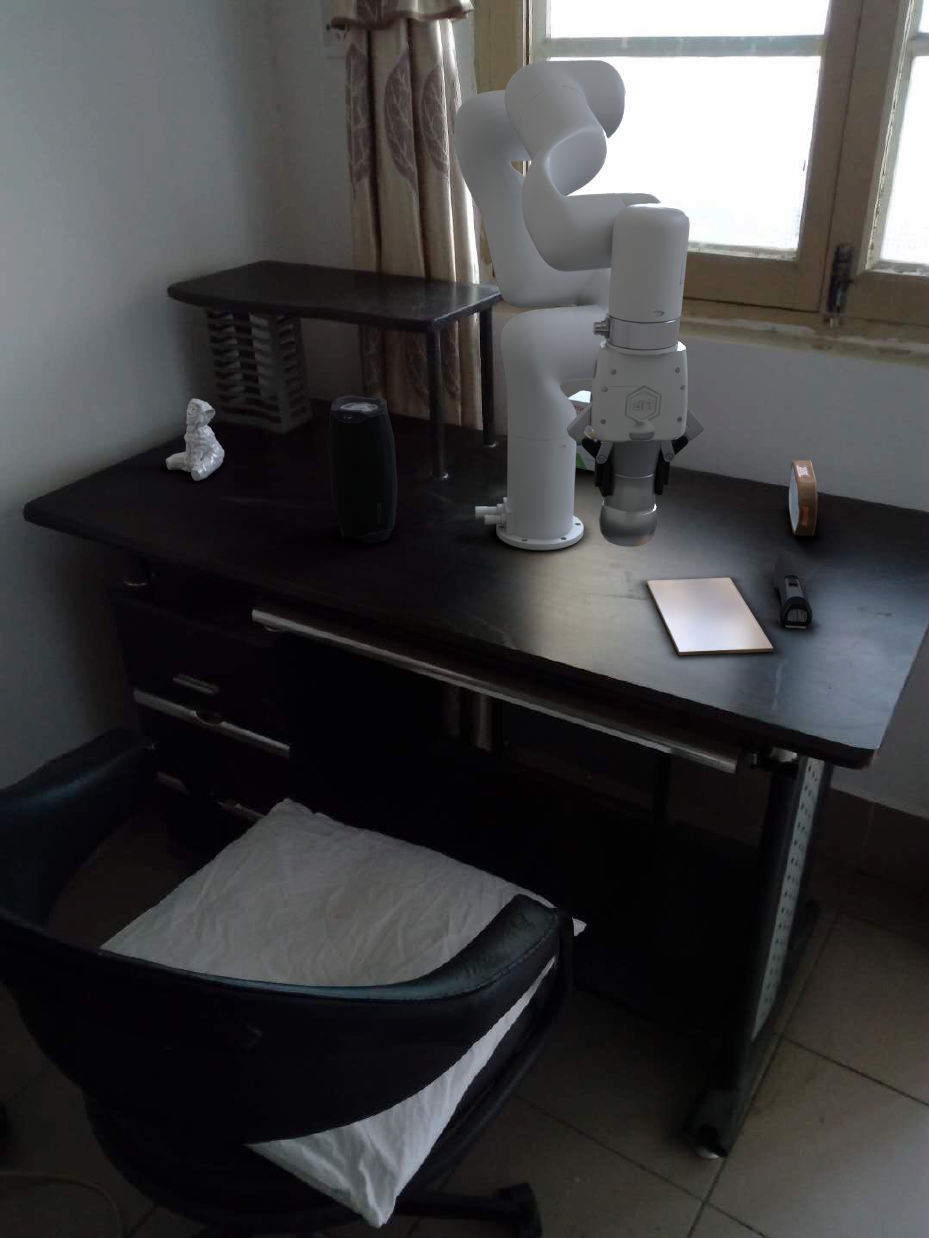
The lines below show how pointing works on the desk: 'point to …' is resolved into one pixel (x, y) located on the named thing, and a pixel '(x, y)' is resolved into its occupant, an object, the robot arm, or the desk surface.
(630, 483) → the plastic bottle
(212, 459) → the sitting furry creature
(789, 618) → the electric trimmer
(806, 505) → the tin
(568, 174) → the robot arm
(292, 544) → the desk surface
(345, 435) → the portable speaker
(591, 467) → the ink box
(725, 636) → the wooden board
